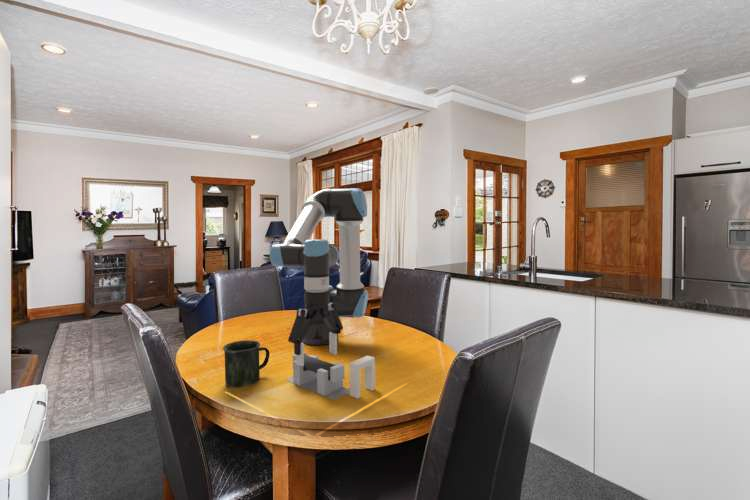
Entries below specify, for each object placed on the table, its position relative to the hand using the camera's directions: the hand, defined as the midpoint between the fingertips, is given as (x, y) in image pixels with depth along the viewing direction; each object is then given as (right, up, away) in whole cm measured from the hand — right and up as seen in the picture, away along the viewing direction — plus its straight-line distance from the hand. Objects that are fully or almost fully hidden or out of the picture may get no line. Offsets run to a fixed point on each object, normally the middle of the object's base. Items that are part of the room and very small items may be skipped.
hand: (317, 359), depth 119 cm
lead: (0, -4, +1) cm, 4 cm away
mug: (-23, -9, +6) cm, 25 cm away
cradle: (0, -9, +1) cm, 9 cm away
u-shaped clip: (+14, -9, -4) cm, 17 cm away
